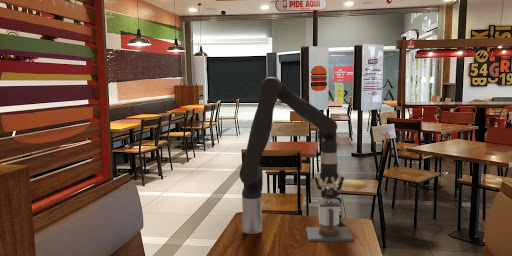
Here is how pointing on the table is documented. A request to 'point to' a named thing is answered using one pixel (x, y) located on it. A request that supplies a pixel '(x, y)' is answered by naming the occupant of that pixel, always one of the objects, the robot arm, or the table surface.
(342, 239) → the slate board
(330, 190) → the plunger
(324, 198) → the french press
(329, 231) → the carafe
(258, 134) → the robot arm
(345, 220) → the table surface
